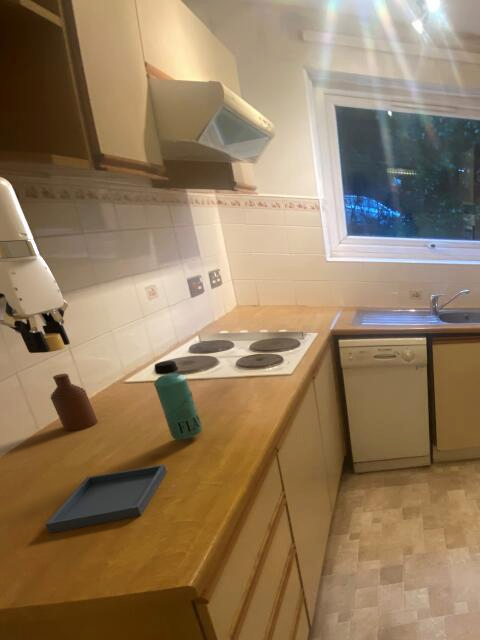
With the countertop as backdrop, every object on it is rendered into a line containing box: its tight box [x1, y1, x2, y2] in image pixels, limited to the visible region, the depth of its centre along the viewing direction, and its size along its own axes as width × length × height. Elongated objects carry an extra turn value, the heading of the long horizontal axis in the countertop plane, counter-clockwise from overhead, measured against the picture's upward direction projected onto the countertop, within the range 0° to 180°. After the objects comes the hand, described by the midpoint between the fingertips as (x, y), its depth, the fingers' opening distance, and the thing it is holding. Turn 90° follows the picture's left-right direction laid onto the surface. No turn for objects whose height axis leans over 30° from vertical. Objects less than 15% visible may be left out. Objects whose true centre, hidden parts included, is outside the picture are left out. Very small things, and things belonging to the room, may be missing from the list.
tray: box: [45, 464, 168, 534], centre depth 85 cm, size 13×15×2 cm
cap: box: [43, 333, 66, 353], centre depth 84 cm, size 4×4×3 cm
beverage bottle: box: [153, 360, 203, 440], centre depth 103 cm, size 6×7×20 cm
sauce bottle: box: [50, 373, 99, 432], centre depth 110 cm, size 6×6×14 cm
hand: (50, 347), depth 85 cm, fingers closed on cap, 4 cm apart
